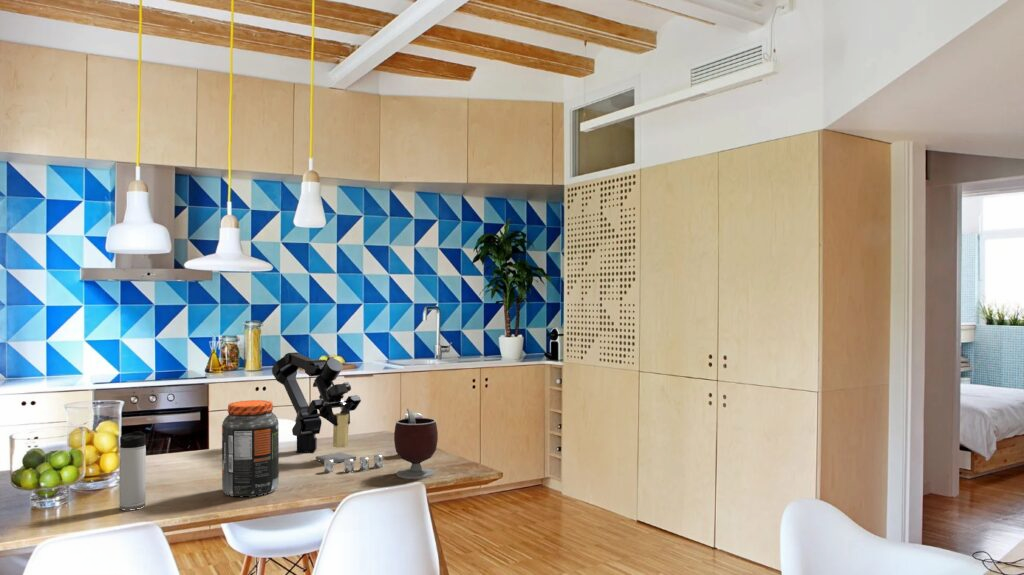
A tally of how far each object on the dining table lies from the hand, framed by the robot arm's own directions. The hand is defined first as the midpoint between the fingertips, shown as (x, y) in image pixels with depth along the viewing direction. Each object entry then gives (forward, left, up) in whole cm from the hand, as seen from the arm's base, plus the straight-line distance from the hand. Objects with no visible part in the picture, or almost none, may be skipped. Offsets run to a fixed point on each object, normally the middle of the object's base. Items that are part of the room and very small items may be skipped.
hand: (343, 424), depth 255 cm
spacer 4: (+13, -8, -13) cm, 20 cm away
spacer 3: (+9, -12, -13) cm, 20 cm away
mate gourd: (+26, -19, -13) cm, 34 cm away
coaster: (-3, +4, -13) cm, 14 cm away
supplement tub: (-21, -37, -13) cm, 44 cm away
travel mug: (-48, -52, -13) cm, 72 cm away
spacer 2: (+4, -14, -13) cm, 20 cm away
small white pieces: (+24, +11, -13) cm, 29 cm away
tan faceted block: (-1, +1, -8) cm, 8 cm away
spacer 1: (-2, -14, -13) cm, 19 cm away
